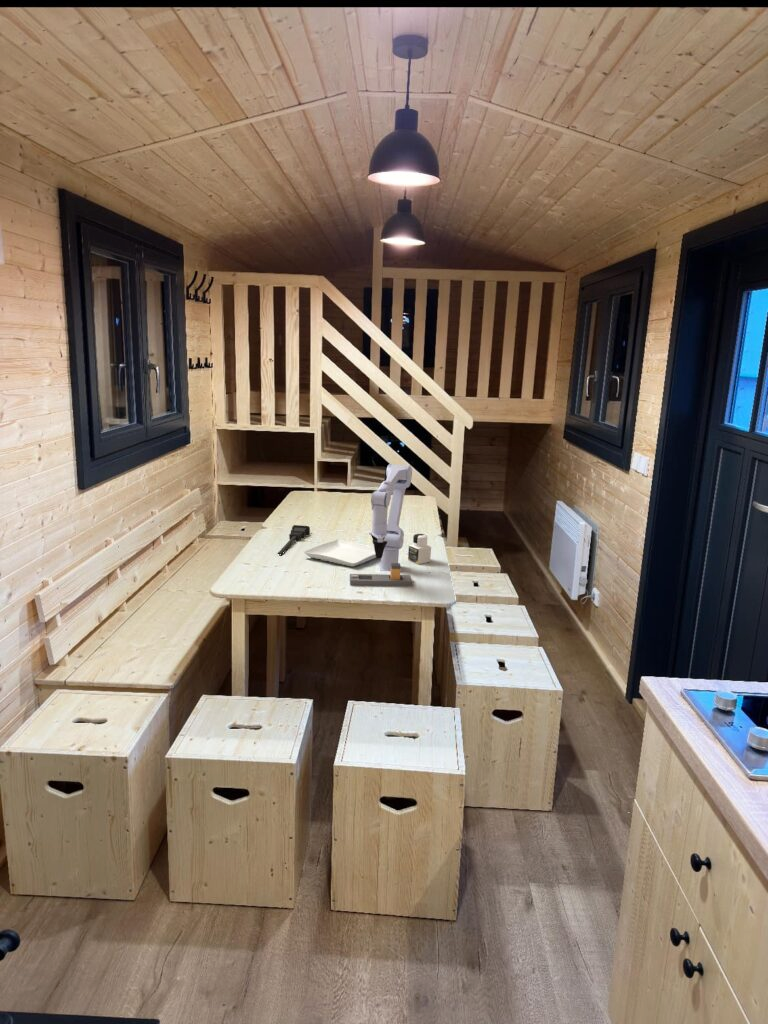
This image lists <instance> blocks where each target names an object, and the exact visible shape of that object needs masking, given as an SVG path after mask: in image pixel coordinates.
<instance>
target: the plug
mask: <svg viewBox="0 0 768 1024" xmlns="http://www.w3.org/2000/svg"><path fill="white" fill-rule="evenodd" d="M389 572H390V573H389V575H390V580H400V575H401V563H400V562H398V563H391V571H389Z"/></svg>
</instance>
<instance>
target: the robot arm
mask: <svg viewBox="0 0 768 1024" xmlns="http://www.w3.org/2000/svg"><path fill="white" fill-rule="evenodd" d="M385 474H386V478H385V479H386V480H384V481H382V482H381V484H380V485H379V486H378V488H377V490H375V491H373V492H372V493H371V497H370V504H371V511H372V522H371V524H372V525H371V531H368V534H369V535H370V536H371V538H372V544H373V547H374V549H375V554H376V558H375V559H381V560H380V563H379V564H378V566H379V570H380V572H391V563H399V554H400V553H399V552H400V550H401V549H402V548H403V546H404V536H405V534H404V530H403V529H402V528H401V527H400V526H399V525H400V519H401V514H402V509H403V503H404V498H405V497H404V496H405V493H406V489H408V488H409V487H411V483H412V478H413V468H412V466H411V465H403V464H402V465H401V464H400V465H399V464H392V463H389V464H388V465H387V467H386V473H385ZM390 503H391V504H390ZM389 506H390V507H389ZM388 507H389V508H388ZM388 509H389V510H388ZM388 511H389V513H388Z"/></svg>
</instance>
